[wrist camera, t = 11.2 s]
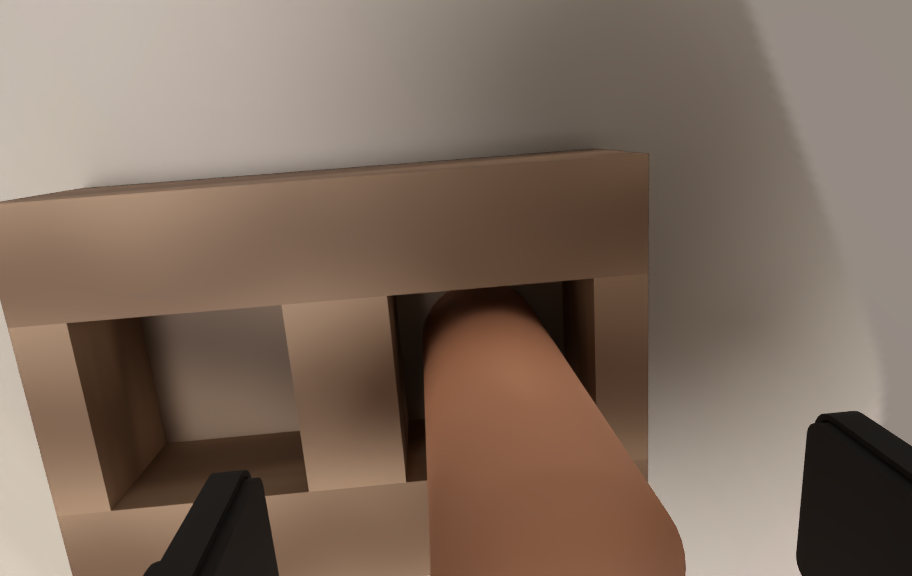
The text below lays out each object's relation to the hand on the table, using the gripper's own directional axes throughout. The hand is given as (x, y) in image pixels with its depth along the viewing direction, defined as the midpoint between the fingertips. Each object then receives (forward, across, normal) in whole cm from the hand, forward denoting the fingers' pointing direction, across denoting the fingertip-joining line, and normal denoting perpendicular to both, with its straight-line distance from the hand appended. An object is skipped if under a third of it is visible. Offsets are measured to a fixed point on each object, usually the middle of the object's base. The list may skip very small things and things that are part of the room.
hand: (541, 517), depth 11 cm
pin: (+11, 0, +1) cm, 11 cm away
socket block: (+12, +4, +1) cm, 13 cm away
